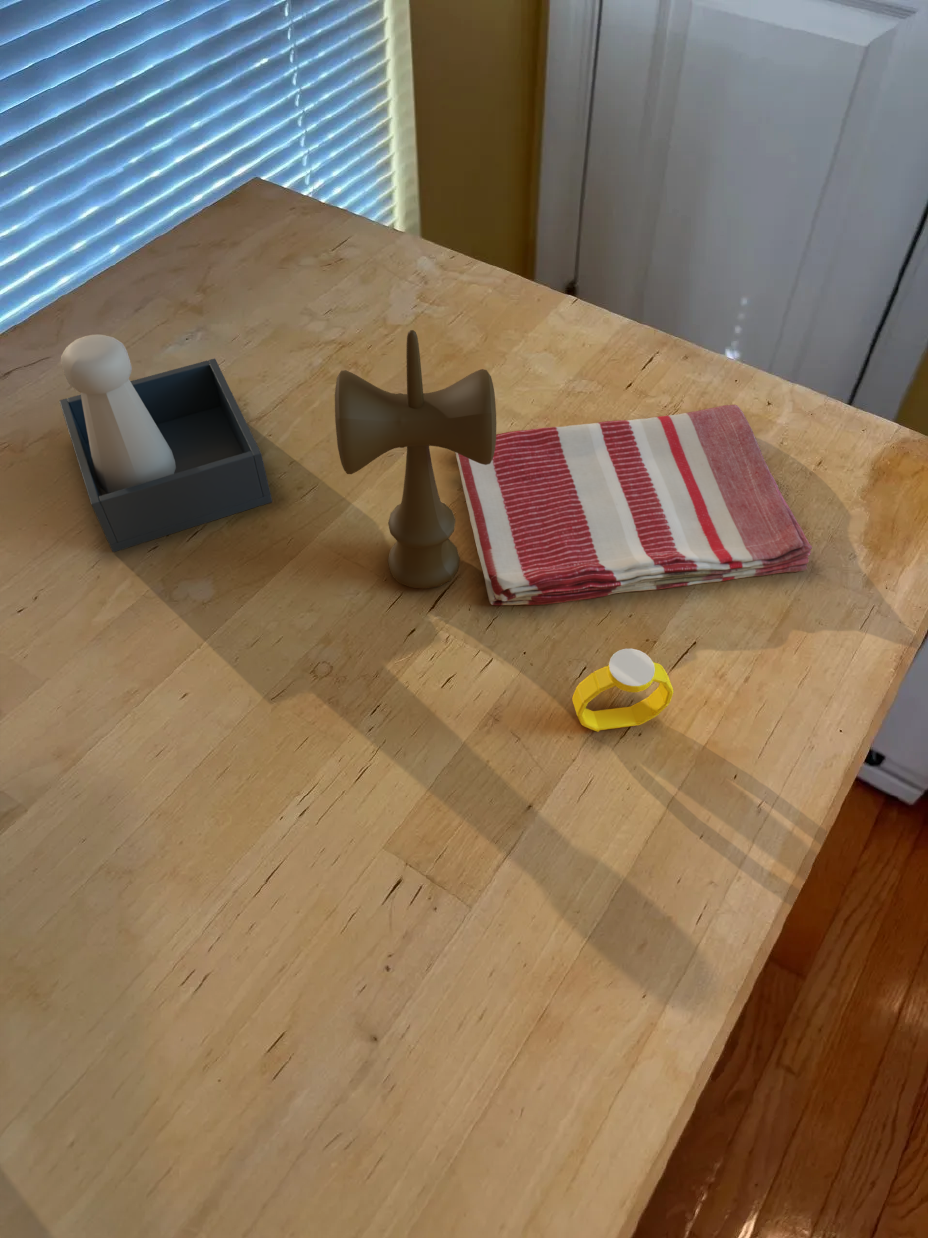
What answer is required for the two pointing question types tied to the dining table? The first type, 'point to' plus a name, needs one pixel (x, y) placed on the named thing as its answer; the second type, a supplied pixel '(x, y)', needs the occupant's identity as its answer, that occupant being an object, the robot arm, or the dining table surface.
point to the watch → (629, 675)
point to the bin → (179, 459)
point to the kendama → (417, 456)
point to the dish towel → (628, 508)
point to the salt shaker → (115, 415)
